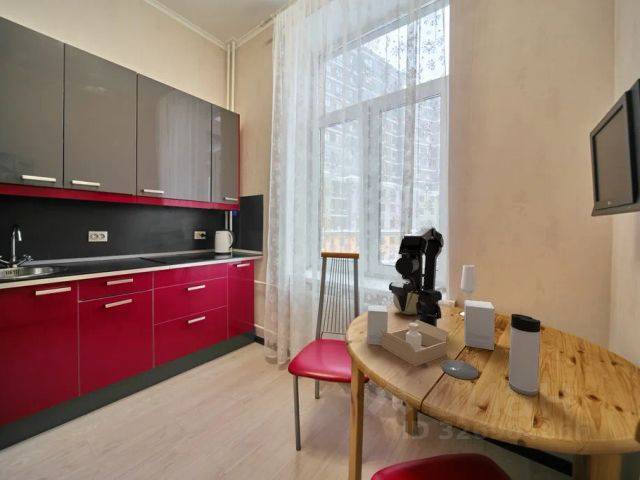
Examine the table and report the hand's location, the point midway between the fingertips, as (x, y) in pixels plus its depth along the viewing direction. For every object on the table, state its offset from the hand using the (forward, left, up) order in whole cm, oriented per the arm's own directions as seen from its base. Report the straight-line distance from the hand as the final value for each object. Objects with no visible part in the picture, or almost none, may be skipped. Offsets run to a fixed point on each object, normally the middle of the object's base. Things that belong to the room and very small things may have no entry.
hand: (413, 315), depth 93 cm
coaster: (-3, +16, -13) cm, 20 cm away
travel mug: (-9, +30, -13) cm, 34 cm away
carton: (0, 0, -13) cm, 13 cm away
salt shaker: (0, 0, -13) cm, 13 cm away
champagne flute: (-53, -13, -13) cm, 56 cm away
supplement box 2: (-26, +8, -13) cm, 30 cm away
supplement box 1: (+5, -12, -13) cm, 19 cm away
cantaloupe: (-29, -28, -13) cm, 42 cm away
